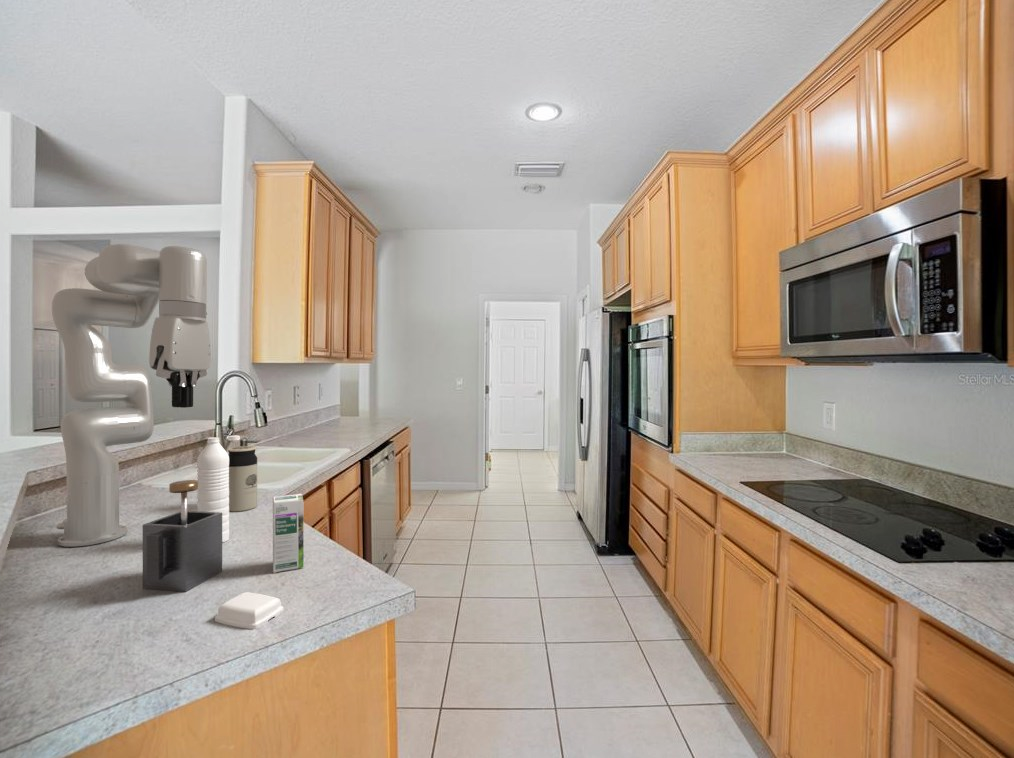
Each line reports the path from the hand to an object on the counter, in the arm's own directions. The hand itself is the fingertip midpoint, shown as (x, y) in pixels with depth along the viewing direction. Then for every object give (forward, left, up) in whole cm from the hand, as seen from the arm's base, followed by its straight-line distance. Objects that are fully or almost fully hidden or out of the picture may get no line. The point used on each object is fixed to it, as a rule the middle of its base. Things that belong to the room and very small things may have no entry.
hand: (182, 406), depth 90 cm
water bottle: (-9, +20, -34) cm, 40 cm away
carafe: (0, -1, -34) cm, 34 cm away
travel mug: (-22, +45, -34) cm, 60 cm away
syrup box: (+16, +9, -34) cm, 39 cm away
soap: (+22, -10, -34) cm, 42 cm away
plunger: (0, 0, -30) cm, 30 cm away
